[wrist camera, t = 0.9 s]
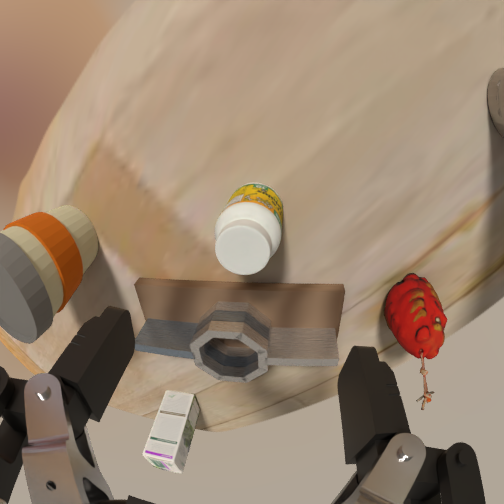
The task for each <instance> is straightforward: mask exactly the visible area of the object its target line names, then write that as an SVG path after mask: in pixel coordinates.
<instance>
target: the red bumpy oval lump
mask: <svg viewBox="0 0 504 504" xmlns="http://www.w3.org/2000/svg"><path fill="white" fill-rule="evenodd" d="M384 316H385V318H386V322H387V325H388V327H389V329H390V330H391V331H392V332H393V334H394V336H395V337H396V339H397V341H398V342H399V344H400V345H401V346H402V347H403V348H404V349H405V350H406V351H407V352H408V353H410V354H411V355H414V356H415V357H416V358H421V361H422V368H421V370H420V373H422V375H423V377H424V395H423V396H422V397H420V398H419V399H418V400H416V401H417V402H418V401H420V400H421V399H422V398H423V397H424V398H425V399H424V401H423V403H422V408H421V410H424V405H425V402H427V403H428V402H430V401H431V397H432V396H431V394H433V393H434V392H428V391H427V390H428V389H427V383H426V377H425V376H426V374H427V373H428V371H426V370H425V368H424V357H426V358H427V359H432V358H434V357H435V356H437V354H438V352H439V348H440V347H441V346H442V345H443V343H444V338H445V336H444V328H445V325H446V322H447V318H446V316H445V314H444V313H443V309H442V304H441V302H440V301H439V298H438V295H437V293H436V292H435V290H434V288H433V287H432V285H431V284H430V283H429V282H428V281H427V279H426V278H421V277H418V276H417V275H416V274H414V273H410V274H407V275H406V276H405V278H404V279H403V282H398V283H396V284H395V285H394V286H393V287H392V289H391V290H390V292H389V294H388V296H387V299H386V307H385V309H384Z"/></svg>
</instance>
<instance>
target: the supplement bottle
mask: <svg viewBox="0 0 504 504" xmlns="http://www.w3.org/2000/svg"><path fill="white" fill-rule="evenodd" d="M282 219H283V204H282V200H281V198H280V196H279V195H278V193H277V192H276V191H275V190H274V189H273V188H271V187H270V186H267V185H264V184H261V183H248V184H245V185H243V186H241V187H240V188H238V189H237V190H236V191H235V192H234V194H233V195H232V196H231V198H230V200H229V201H228V203H227V205H226V206H225V208H224V209H223V211H222V213H221V214H220V216H219V218H218V220H217V222H216V225H215V239H216V245H215V252H216V256H217V258H218V260H219V262H220V263H221V264H222V266H223V267H225V268H226V269H227V270H229V271H230V272H233V273H235V274H239V275H250V274H254V273H257V272H259V271H260V270H262V269H263V268H264V267H265V266H266V264H267V263H268V261H269V258H270V257H272V256H273V255H274V253H275V252H276V251H277V249H278V247H279V245H280V241H281V235H282Z"/></svg>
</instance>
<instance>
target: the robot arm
mask: <svg viewBox="0 0 504 504" xmlns="http://www.w3.org/2000/svg"><path fill="white" fill-rule="evenodd" d="M488 106H489V110H490V114H491V117H492V120H493V123H494V125H495V127H496V129H497V130H498V132H499V133H500V135H501V136H502V137H503V138H504V68H501V69H498V70H497V71H495V73H494V74H493V75H492V77H491V79H490V81H489V86H488ZM134 349H135V337H134V332H133V327H132V322H131V316H130V313H129V311H128V310H124V309H120V308H116V307H112V306H109V307H107V308H106V309H105V311H104V312H103V313H102V315H101V316H100V317H96V316H95V317H93V318H92V319H90V320H89V321H87V322H86V323H84V325H83V326H82V327H81V328H80V330H79V331H78V332H77V335H75V336H74V338H73V339H72V341H71V343H69V345H68V346H67V347H66V349H65V350H64V352H63V353H62V354H61V356H60V357H59V359H58V360H57V361H56V363H55V364H54V366H53V367H52V369H51V370H50V371H49V372H48V373H40V374H37V375H35V376H33V377H32V378H30V379H29V380H21V379H15V378H10V377H9V375H8V374H7V372H6V371H5V369H4V368H2V367H0V417H2V418H3V421H2V423H1V425H0V504H8V502H9V499H10V496H11V493H12V490H13V488H14V485H15V482H16V480H17V477H18V475H19V472H20V470H21V467H22V465H24V470H25V475H26V480H27V485H28V489H29V493H30V497H31V501H32V504H154V503H151V502H148V501H145V500H141V499H138V498H135V497H132V496H130V495H129V496H128V500H114V498H113V496H112V493H111V491H110V488H109V486H108V484H107V482H106V481H105V479H104V477H103V476H102V474H101V472H100V470H99V467H98V464H97V461H96V458H95V455H94V451H93V448H92V445H91V441H90V438H89V434H88V431H87V427H86V423H87V421H88V419H89V418H90V419H92V420H95V421H97V422H100V419H101V417H102V415H103V413H104V411H105V409H106V407H107V405H108V403H109V401H110V399H111V397H112V395H113V393H114V391H115V389H116V387H117V385H118V383H119V381H120V379H121V377H122V375H123V373H124V371H125V369H126V367H127V365H128V363H129V361H130V360H131V358H132V356H133V353H134ZM338 395H339V403H340V411H341V420H342V429H343V438H344V450H345V461H346V464H356V466H357V471H356V472H355V473H354V474H353V476H352V477H351V479H350V480H349V481H348V483H347V484H346V485H345V487H344V488H343V489H342V490H341V492H340V493H339V494H338V496H337V497H336V498H335V499H334V500H333V502H332V503H331V504H485V497H484V491H483V486H482V480H481V475H480V471H479V466H478V462H477V458H476V454H475V452H474V450H473V449H472V447H471V446H469V445H468V444H466V443H461V442H460V443H455V444H453V445H452V446H451V447H450V448H449V449H447V450H443V449H437V448H431V447H426V446H425V445H424V443H423V442H422V441H421V440H420V439H419V438H418V437H417V436H415V435H413V434H411V432H410V429H409V425H408V421H407V417H406V413H405V410H404V406H403V403H402V399H401V396H400V392H399V389H398V386H397V382H396V379H395V375H394V372H393V371H392V370H391V368H390V367H389V366H388V365H387V363H386V362H380V361H379V358H378V355H377V351H376V349H375V348H374V347H365V346H353V347H352V349H351V351H350V353H349V355H348V357H347V359H346V362H345V364H344V366H343V368H342V370H341V372H340V374H339V378H338ZM440 493H441V495H440ZM441 501H442V503H441Z"/></svg>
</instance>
